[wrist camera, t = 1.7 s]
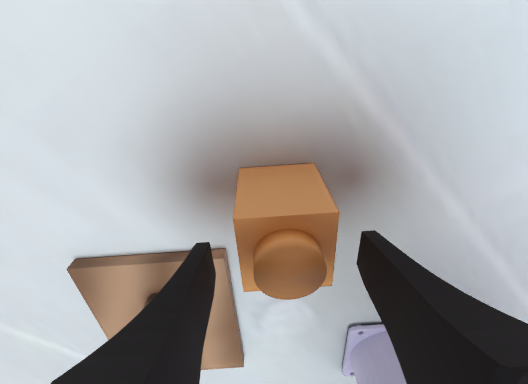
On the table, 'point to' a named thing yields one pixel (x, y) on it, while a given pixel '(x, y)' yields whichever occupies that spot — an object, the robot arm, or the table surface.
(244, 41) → the table surface
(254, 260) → the cube with dome
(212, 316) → the board
